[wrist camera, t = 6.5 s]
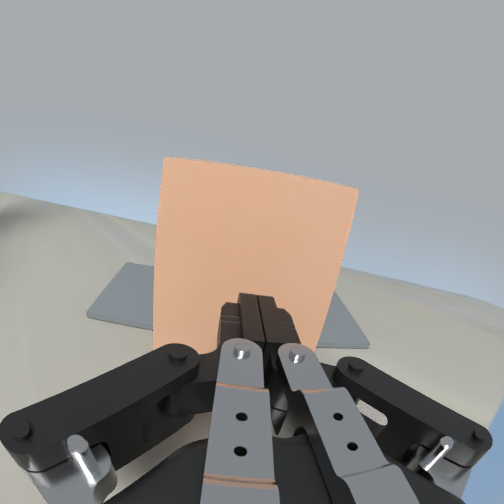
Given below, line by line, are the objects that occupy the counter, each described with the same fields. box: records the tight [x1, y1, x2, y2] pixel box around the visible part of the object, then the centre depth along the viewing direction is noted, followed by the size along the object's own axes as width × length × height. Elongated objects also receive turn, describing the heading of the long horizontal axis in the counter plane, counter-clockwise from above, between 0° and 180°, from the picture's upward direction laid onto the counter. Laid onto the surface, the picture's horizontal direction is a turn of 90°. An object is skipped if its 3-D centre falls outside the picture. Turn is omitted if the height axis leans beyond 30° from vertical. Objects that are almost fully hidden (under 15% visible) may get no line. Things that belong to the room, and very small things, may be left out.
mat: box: [87, 263, 370, 348], centre depth 25 cm, size 22×10×1 cm, turn 94°
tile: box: [153, 157, 359, 354], centre depth 17 cm, size 10×3×12 cm, turn 94°
